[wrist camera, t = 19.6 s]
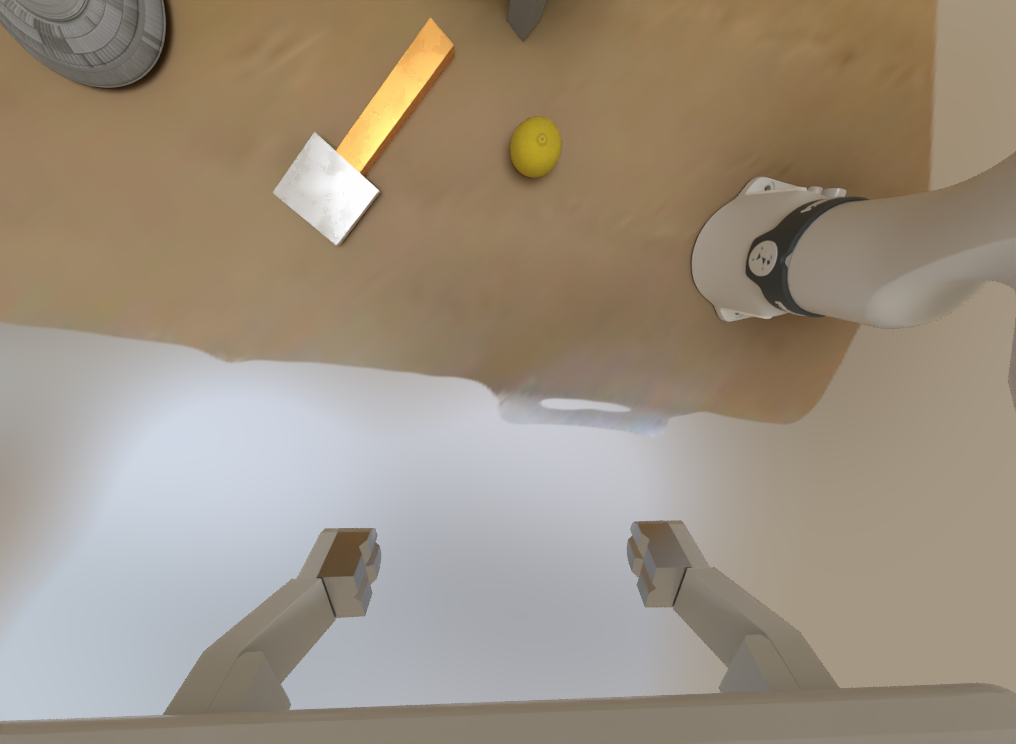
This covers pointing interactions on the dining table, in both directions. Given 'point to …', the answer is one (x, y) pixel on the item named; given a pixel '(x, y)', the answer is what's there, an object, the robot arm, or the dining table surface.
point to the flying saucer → (89, 37)
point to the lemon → (535, 146)
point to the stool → (525, 16)
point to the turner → (362, 143)
